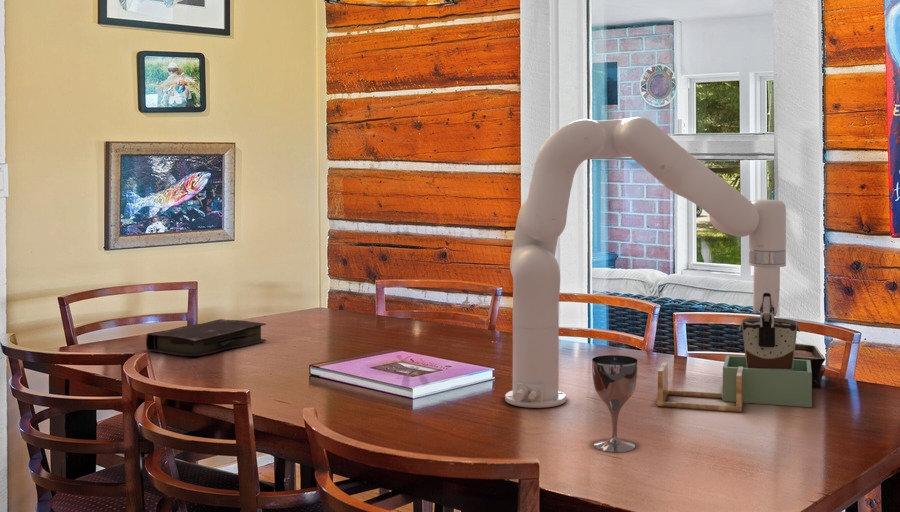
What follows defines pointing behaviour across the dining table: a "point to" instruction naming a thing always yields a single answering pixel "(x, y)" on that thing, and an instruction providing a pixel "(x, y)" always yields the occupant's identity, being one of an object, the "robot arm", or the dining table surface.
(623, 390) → the wine glass
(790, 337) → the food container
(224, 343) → the diary
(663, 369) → the drying rack
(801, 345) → the dark brown tapered box
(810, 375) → the tub
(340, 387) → the dining table surface
